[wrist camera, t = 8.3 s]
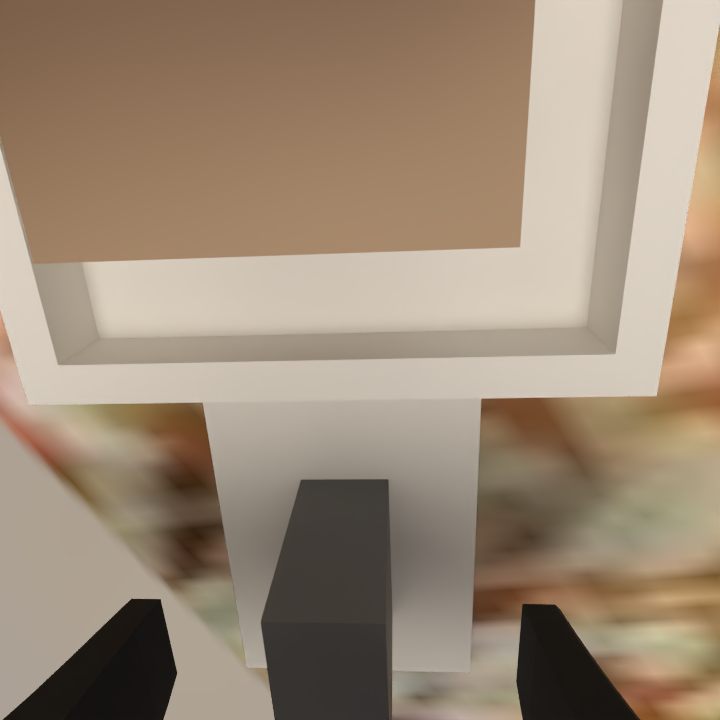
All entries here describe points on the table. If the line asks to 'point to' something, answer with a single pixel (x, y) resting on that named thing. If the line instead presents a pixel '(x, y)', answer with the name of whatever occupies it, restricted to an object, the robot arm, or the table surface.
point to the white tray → (396, 358)
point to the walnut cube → (264, 125)
